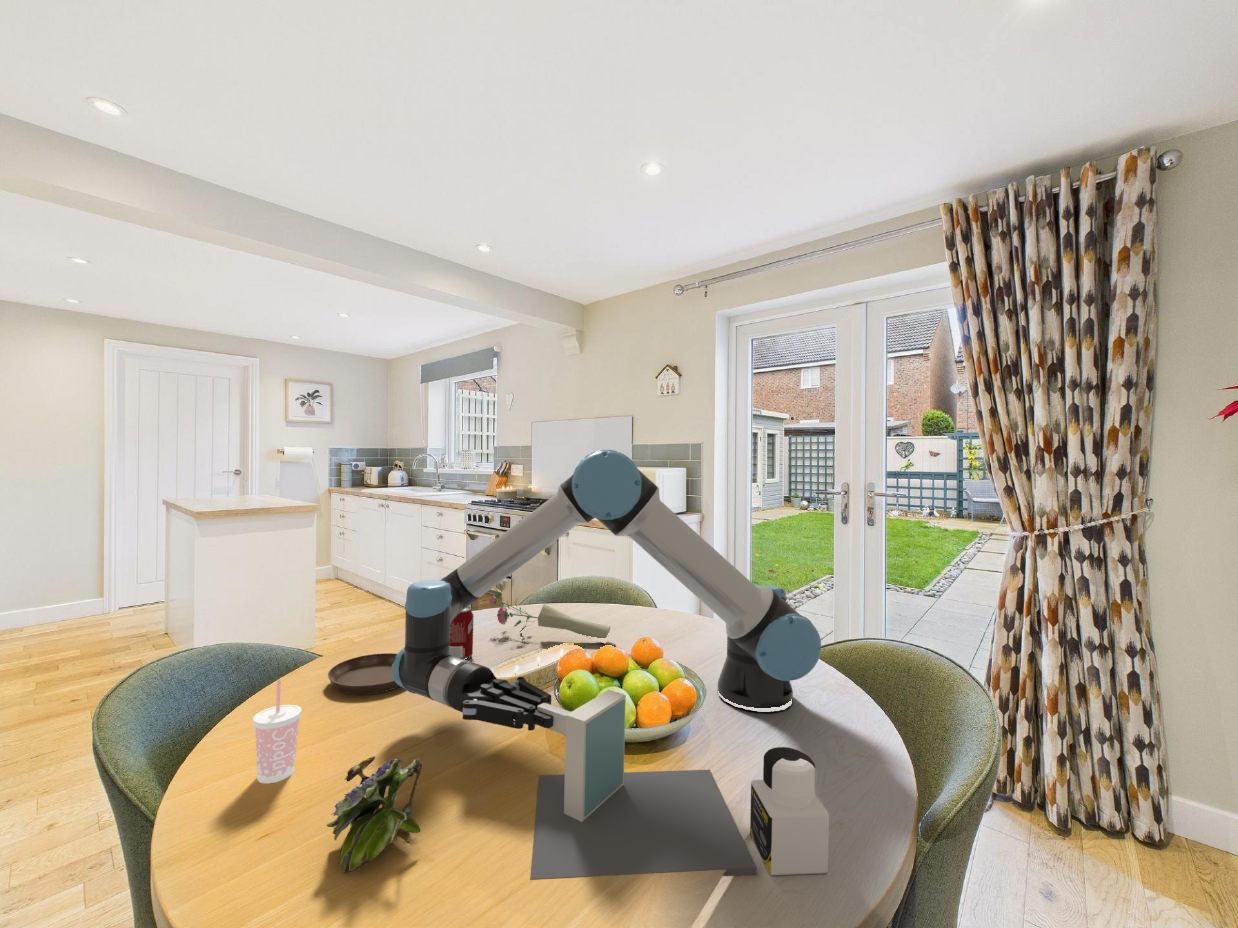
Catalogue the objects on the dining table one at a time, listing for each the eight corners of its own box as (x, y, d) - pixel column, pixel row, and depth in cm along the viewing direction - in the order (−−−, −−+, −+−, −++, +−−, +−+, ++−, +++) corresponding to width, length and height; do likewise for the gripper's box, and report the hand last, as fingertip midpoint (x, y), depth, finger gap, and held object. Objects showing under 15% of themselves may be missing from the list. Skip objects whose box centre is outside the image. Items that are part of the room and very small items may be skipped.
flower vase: (596, 675, 138) (473, 636, 143) (607, 647, 150) (493, 612, 155) (604, 638, 135) (477, 599, 140) (615, 612, 146) (497, 577, 151)
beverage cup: (247, 790, 75) (250, 691, 75) (254, 768, 80) (257, 675, 80) (298, 779, 78) (301, 684, 78) (301, 759, 83) (304, 669, 83)
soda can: (464, 664, 124) (465, 612, 124) (437, 661, 126) (439, 610, 126) (477, 654, 131) (478, 605, 131) (452, 651, 132) (453, 603, 132)
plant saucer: (427, 687, 112) (427, 672, 112) (332, 706, 102) (333, 690, 102) (407, 660, 126) (408, 648, 126) (323, 675, 116) (323, 661, 116)
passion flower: (356, 871, 67) (377, 764, 75) (436, 866, 66) (449, 757, 73) (295, 875, 58) (325, 753, 66) (385, 869, 57) (406, 745, 64)
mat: (709, 774, 81) (709, 769, 81) (756, 873, 61) (756, 866, 61) (538, 780, 79) (539, 775, 79) (529, 886, 59) (530, 878, 59)
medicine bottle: (749, 834, 68) (751, 740, 68) (802, 832, 69) (804, 739, 69) (769, 876, 61) (771, 772, 61) (828, 874, 62) (831, 771, 62)
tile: (563, 813, 70) (566, 714, 70) (606, 777, 79) (608, 689, 79) (583, 822, 68) (585, 721, 69) (624, 784, 77) (626, 695, 77)
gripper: (492, 694, 94) (600, 733, 81) (429, 722, 83) (543, 773, 70) (493, 651, 94) (601, 684, 81) (431, 674, 83) (544, 716, 70)
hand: (574, 725), depth 75 cm, fingers closed
